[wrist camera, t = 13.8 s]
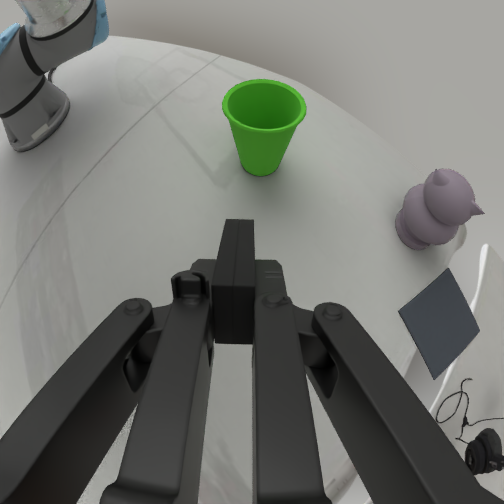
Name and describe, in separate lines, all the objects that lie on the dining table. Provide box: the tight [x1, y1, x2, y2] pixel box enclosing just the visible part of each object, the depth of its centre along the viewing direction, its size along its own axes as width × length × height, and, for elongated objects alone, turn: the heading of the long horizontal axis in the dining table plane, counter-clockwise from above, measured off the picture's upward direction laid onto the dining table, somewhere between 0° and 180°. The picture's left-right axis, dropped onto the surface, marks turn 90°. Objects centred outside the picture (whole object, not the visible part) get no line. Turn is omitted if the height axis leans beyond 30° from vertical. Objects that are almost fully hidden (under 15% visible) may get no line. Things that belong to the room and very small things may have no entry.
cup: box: [222, 79, 306, 176], centre depth 33 cm, size 9×9×11 cm
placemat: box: [398, 268, 480, 380], centre depth 31 cm, size 11×11×1 cm
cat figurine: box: [395, 169, 485, 250], centre depth 30 cm, size 9×8×12 cm
